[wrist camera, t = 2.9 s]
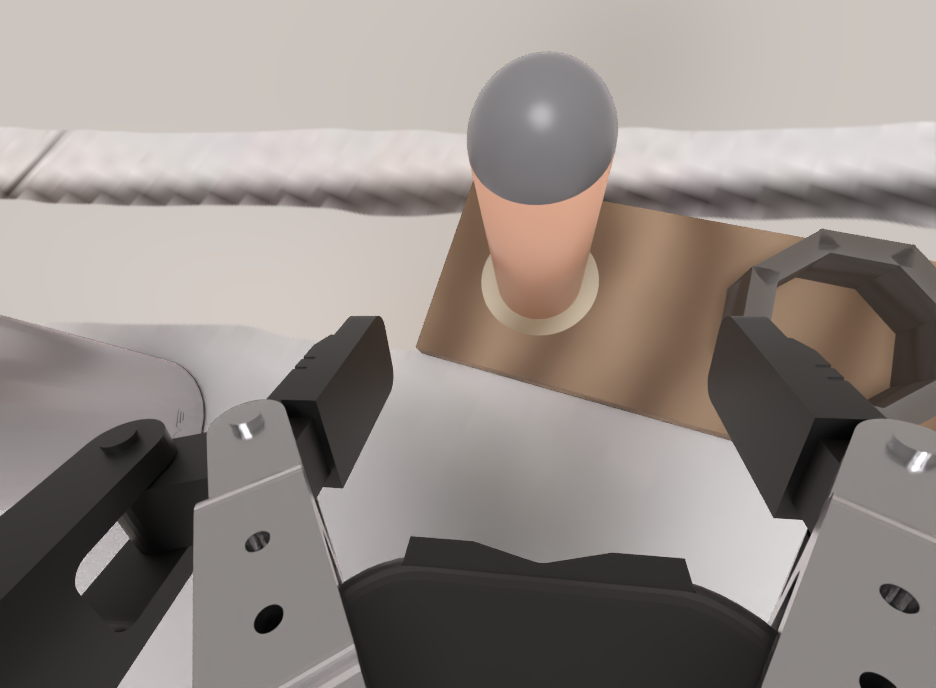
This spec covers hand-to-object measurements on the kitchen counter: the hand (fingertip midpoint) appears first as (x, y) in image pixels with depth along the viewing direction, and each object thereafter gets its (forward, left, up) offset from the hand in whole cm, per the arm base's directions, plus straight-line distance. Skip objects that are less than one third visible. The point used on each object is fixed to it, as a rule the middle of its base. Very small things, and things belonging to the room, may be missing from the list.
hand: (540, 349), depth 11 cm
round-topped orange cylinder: (-2, +8, -14) cm, 16 cm away
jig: (+6, +8, -16) cm, 19 cm away
